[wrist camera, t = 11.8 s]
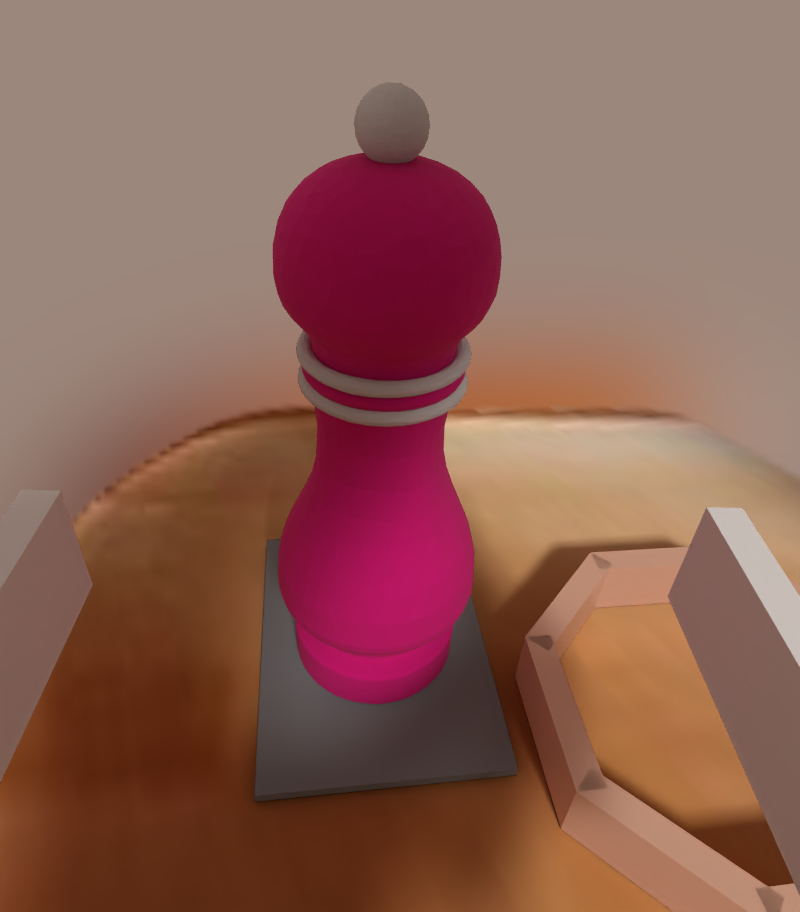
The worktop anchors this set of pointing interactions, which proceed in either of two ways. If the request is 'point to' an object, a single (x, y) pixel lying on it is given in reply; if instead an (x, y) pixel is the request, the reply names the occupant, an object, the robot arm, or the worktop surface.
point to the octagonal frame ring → (577, 770)
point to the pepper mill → (381, 400)
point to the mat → (373, 719)
